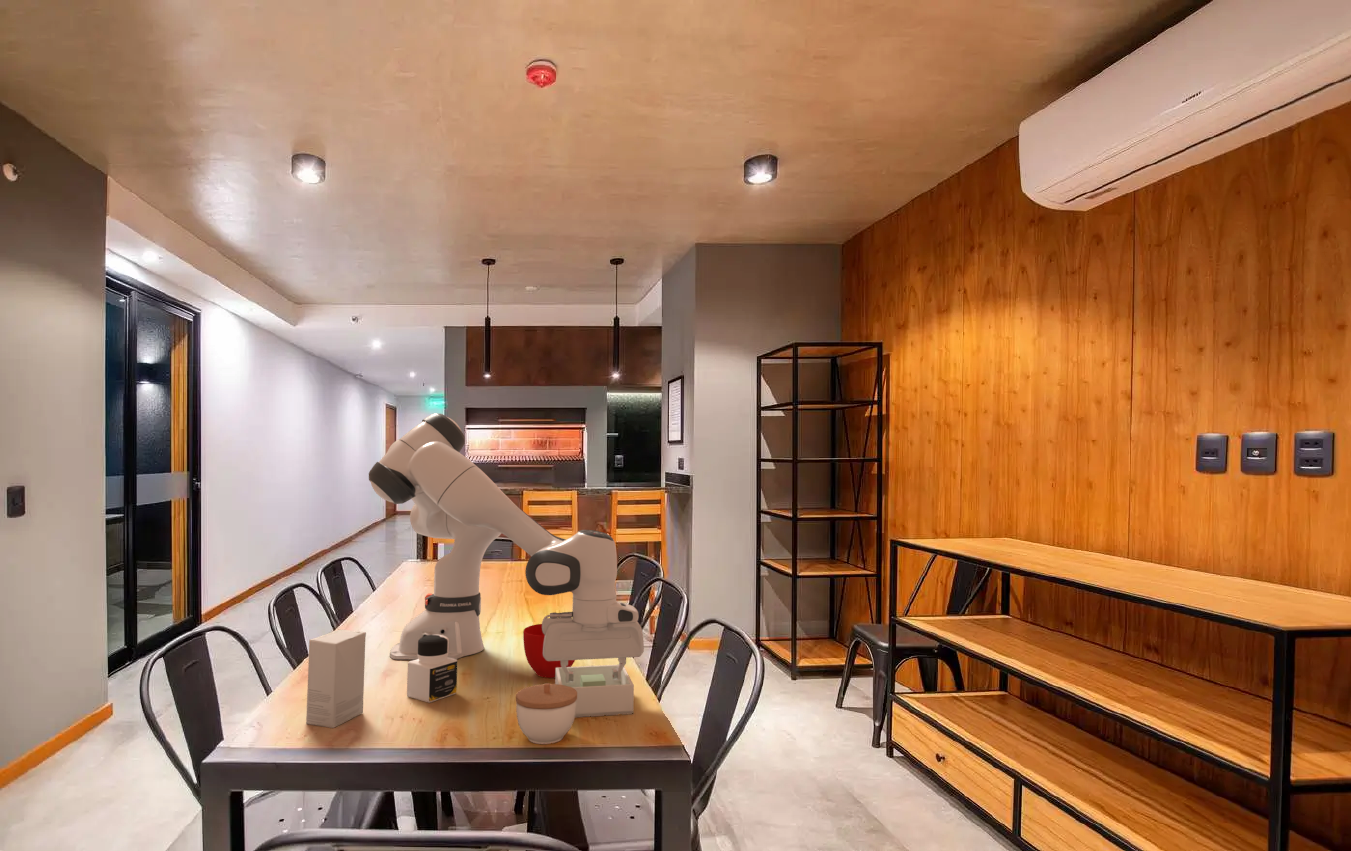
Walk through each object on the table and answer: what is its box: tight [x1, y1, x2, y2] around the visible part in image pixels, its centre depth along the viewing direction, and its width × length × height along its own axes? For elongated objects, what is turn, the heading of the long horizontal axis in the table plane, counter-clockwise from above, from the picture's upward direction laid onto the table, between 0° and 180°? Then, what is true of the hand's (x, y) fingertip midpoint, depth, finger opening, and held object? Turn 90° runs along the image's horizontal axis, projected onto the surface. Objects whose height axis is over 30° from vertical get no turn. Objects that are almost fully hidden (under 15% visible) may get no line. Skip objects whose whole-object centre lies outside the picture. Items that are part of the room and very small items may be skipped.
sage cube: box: [580, 674, 606, 687], centre depth 146 cm, size 4×4×4 cm
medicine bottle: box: [406, 635, 458, 704], centre depth 150 cm, size 7×7×12 cm
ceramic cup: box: [522, 623, 576, 679], centre depth 168 cm, size 13×17×10 cm
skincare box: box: [305, 629, 367, 729], centre depth 136 cm, size 8×7×16 cm
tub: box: [554, 664, 635, 718], centre depth 146 cm, size 14×14×6 cm
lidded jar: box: [515, 682, 577, 745], centre depth 128 cm, size 11×11×9 cm
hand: (592, 680), depth 146 cm, fingers open, 8 cm apart
